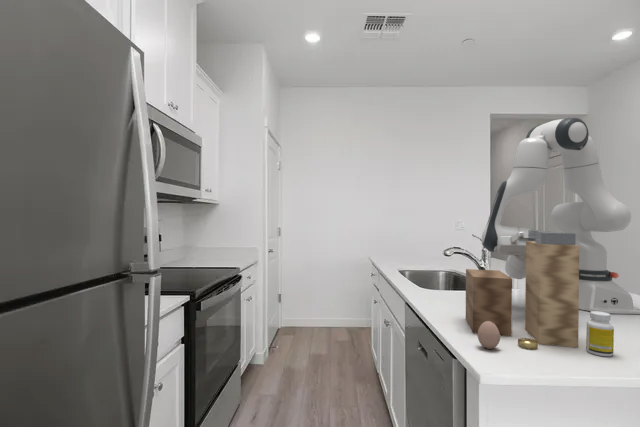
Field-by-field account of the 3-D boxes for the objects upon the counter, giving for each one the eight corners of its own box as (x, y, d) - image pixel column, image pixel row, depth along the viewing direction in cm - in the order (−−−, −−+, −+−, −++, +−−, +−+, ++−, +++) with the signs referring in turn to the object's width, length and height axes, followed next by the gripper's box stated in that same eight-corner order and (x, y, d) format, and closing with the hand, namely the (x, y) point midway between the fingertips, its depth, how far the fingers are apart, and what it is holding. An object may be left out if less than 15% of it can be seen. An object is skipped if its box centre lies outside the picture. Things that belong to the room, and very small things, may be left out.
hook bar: (519, 239, 120) (519, 229, 121) (547, 240, 119) (547, 230, 119) (541, 244, 100) (541, 232, 100) (575, 245, 98) (575, 233, 98)
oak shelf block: (559, 332, 110) (560, 242, 110) (578, 347, 97) (579, 245, 97) (525, 329, 112) (525, 241, 112) (539, 344, 99) (540, 244, 99)
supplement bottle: (618, 358, 90) (618, 316, 90) (592, 356, 91) (593, 315, 91) (606, 350, 95) (606, 311, 95) (582, 348, 96) (582, 309, 97)
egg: (498, 353, 92) (498, 325, 92) (475, 349, 95) (476, 322, 95) (501, 347, 96) (501, 320, 96) (479, 343, 99) (479, 317, 99)
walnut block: (498, 320, 121) (499, 270, 121) (511, 336, 105) (512, 278, 105) (465, 318, 123) (466, 269, 123) (472, 333, 108) (473, 276, 108)
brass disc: (534, 345, 99) (534, 338, 99) (540, 351, 94) (540, 344, 94) (516, 344, 100) (516, 337, 100) (520, 349, 96) (520, 342, 96)
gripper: (492, 244, 131) (499, 224, 119) (558, 245, 126) (573, 225, 114) (493, 261, 128) (501, 242, 116) (562, 263, 123) (577, 244, 111)
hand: (538, 234), depth 115 cm, fingers open, 8 cm apart
